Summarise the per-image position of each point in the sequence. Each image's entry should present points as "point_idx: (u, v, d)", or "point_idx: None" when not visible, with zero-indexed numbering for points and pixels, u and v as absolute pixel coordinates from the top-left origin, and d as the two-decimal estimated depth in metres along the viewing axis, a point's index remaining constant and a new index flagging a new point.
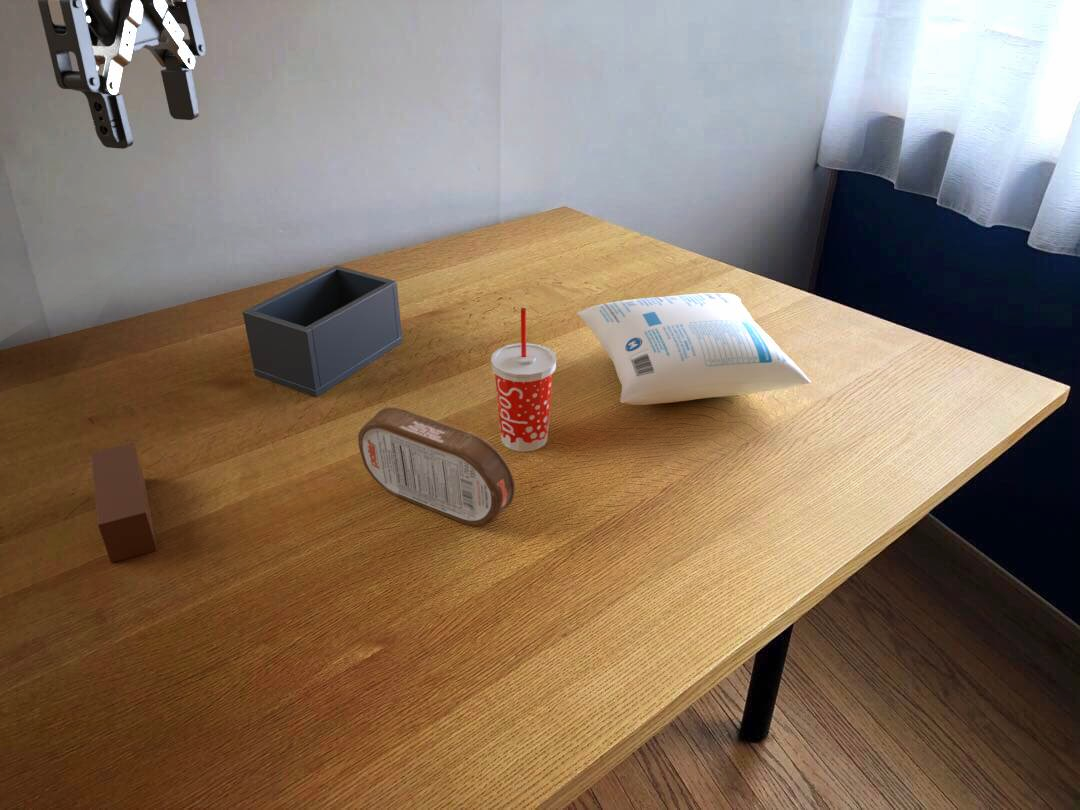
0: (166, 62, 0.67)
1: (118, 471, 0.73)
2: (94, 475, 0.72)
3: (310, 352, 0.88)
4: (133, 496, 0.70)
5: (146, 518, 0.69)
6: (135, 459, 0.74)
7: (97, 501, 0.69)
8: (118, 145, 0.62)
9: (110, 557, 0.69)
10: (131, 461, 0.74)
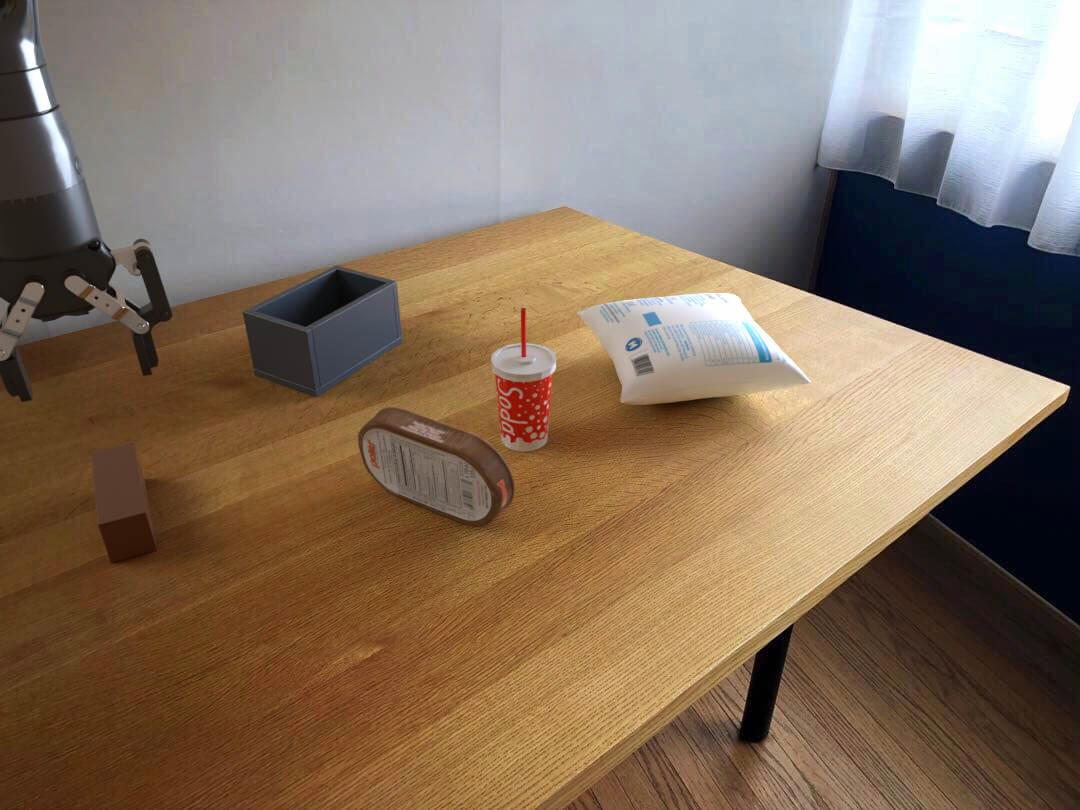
0: None
1: (118, 471, 0.73)
2: (94, 475, 0.72)
3: (310, 352, 0.88)
4: (133, 496, 0.70)
5: (146, 518, 0.69)
6: (135, 459, 0.74)
7: (97, 501, 0.69)
8: None
9: (110, 557, 0.69)
10: (131, 461, 0.74)
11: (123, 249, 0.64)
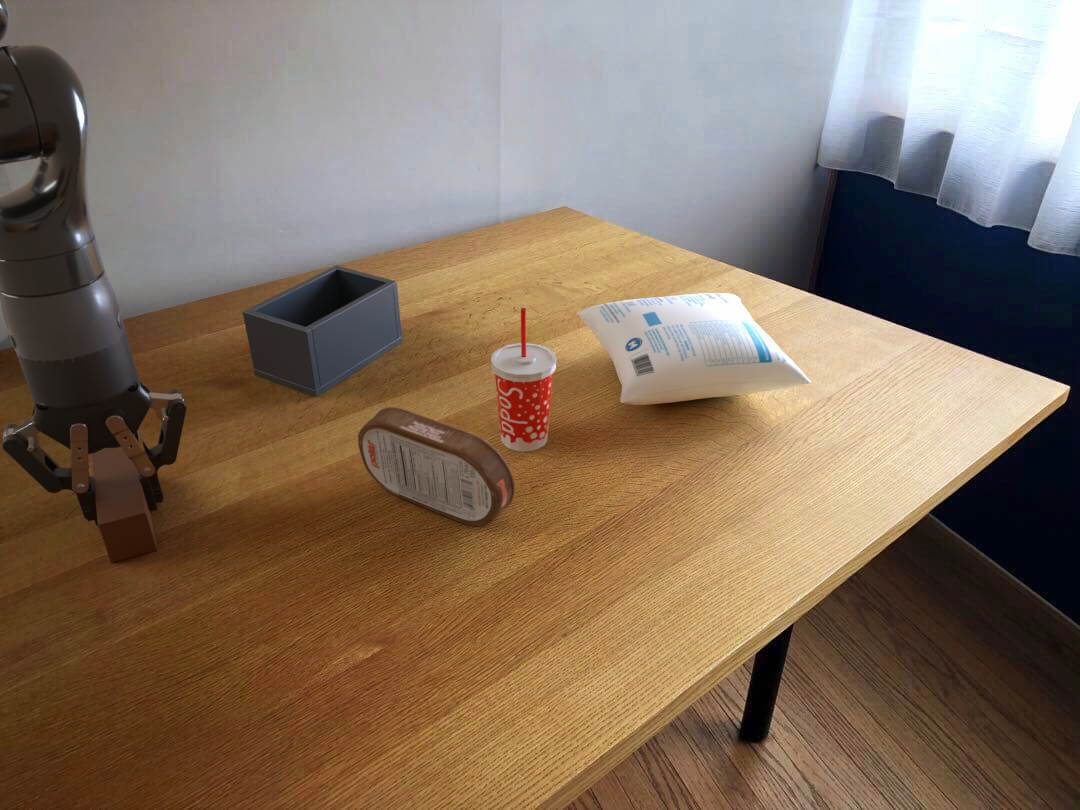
0: None
1: (118, 471, 0.73)
2: (94, 475, 0.72)
3: (310, 352, 0.88)
4: (133, 496, 0.70)
5: (146, 518, 0.69)
6: None
7: (97, 501, 0.69)
8: None
9: (110, 557, 0.69)
10: (131, 461, 0.74)
11: (161, 395, 0.70)
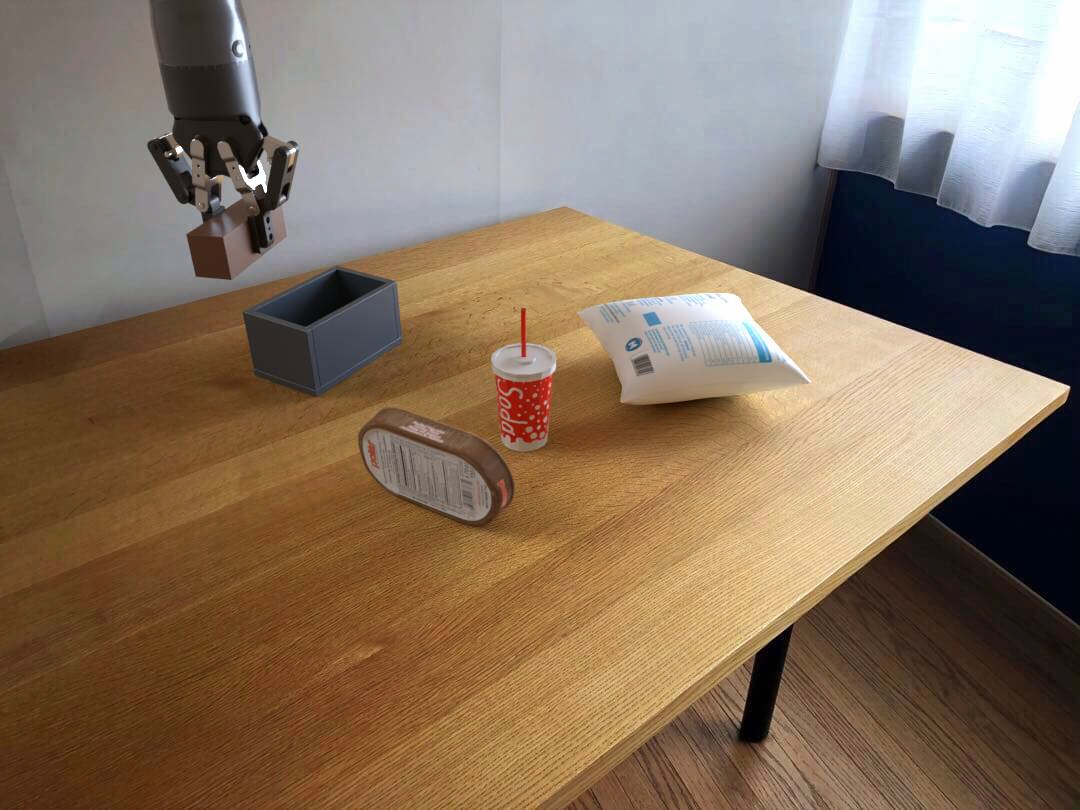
0: None
1: (245, 209, 0.80)
2: (228, 207, 0.80)
3: (310, 352, 0.88)
4: (230, 226, 0.76)
5: (223, 243, 0.74)
6: None
7: (206, 221, 0.77)
8: None
9: (195, 271, 0.76)
10: None
11: (274, 140, 0.74)
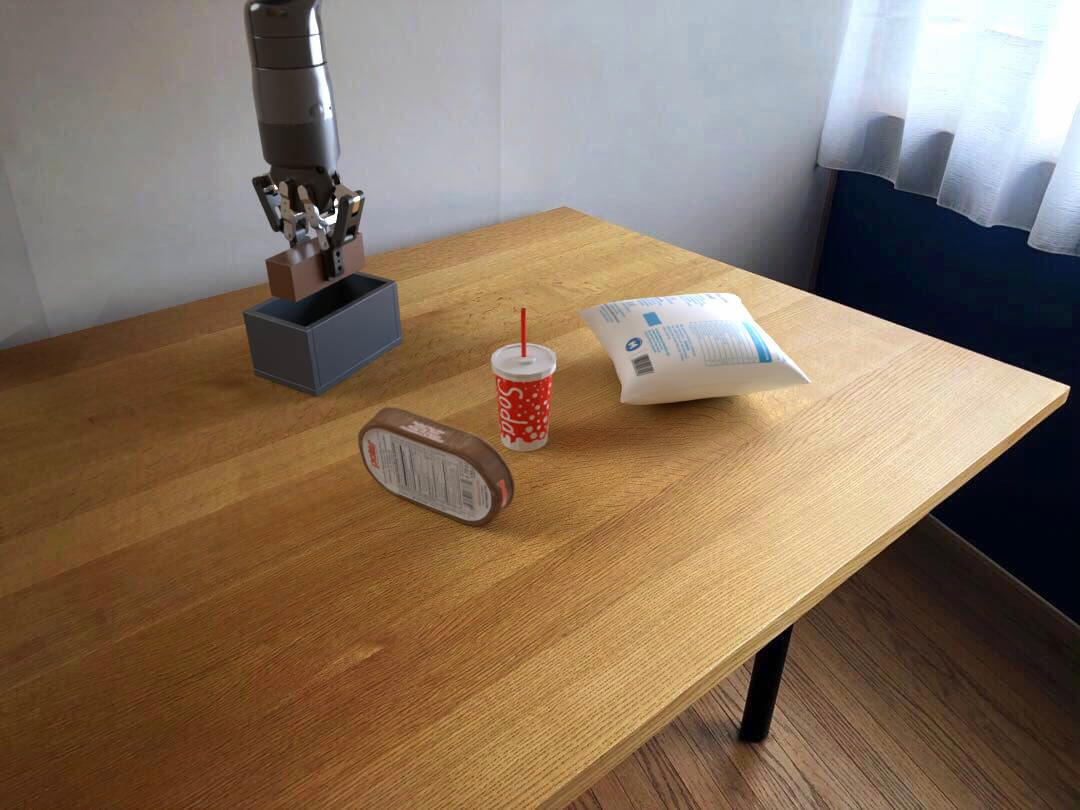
0: None
1: None
2: (314, 238, 0.93)
3: (310, 352, 0.88)
4: (303, 256, 0.89)
5: (290, 272, 0.87)
6: None
7: (288, 249, 0.90)
8: None
9: (271, 290, 0.90)
10: None
11: (344, 188, 0.85)
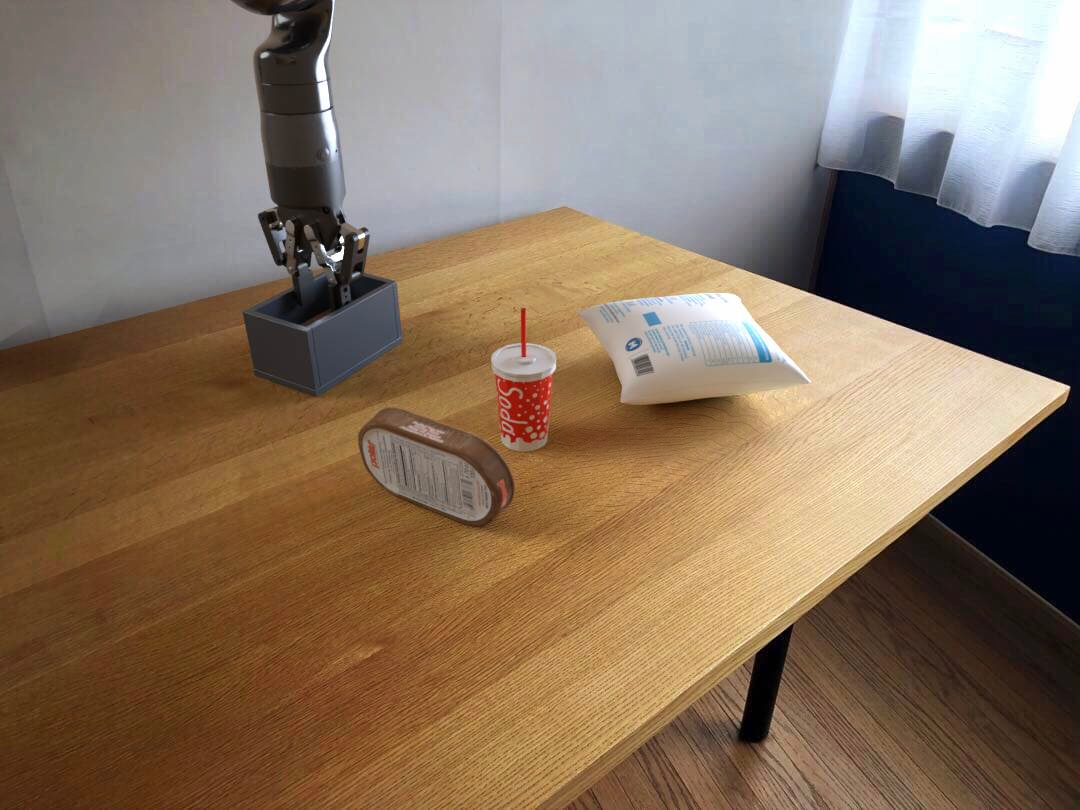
0: None
1: None
2: None
3: (310, 352, 0.88)
4: None
5: None
6: None
7: None
8: None
9: None
10: None
11: (349, 226, 0.87)
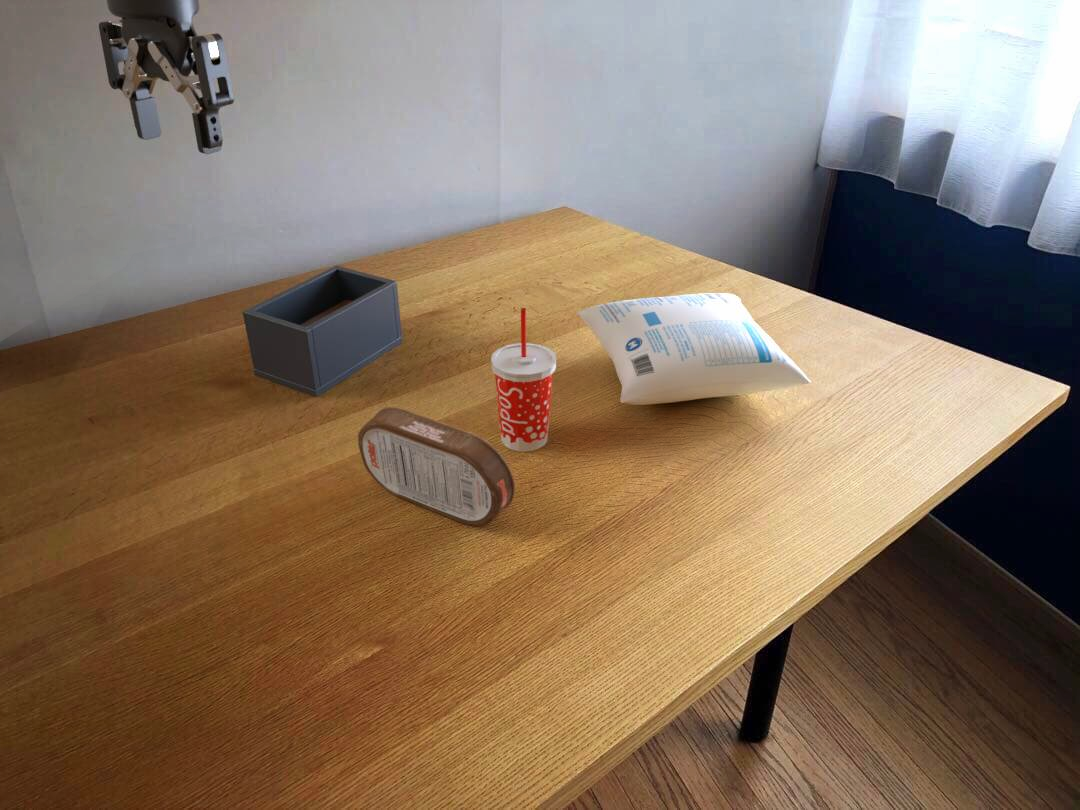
0: None
1: None
2: None
3: (310, 352, 0.88)
4: None
5: None
6: None
7: None
8: None
9: None
10: None
11: (197, 36, 0.75)
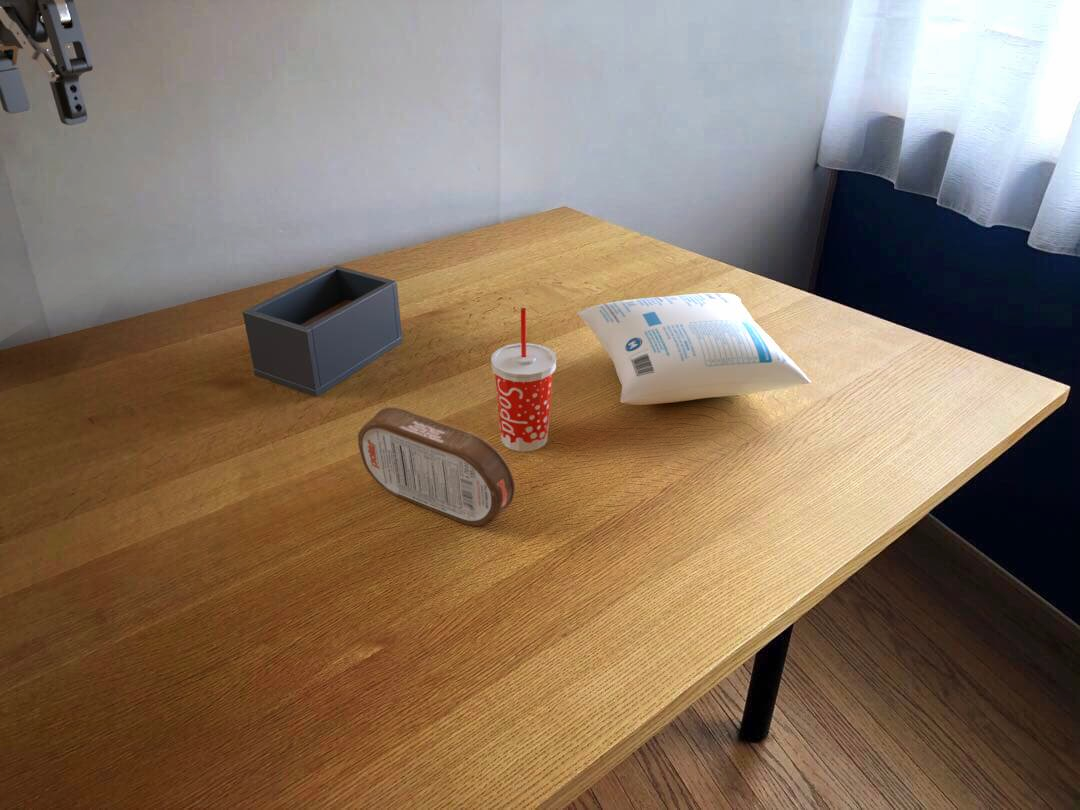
0: None
1: None
2: None
3: (310, 352, 0.88)
4: None
5: None
6: None
7: None
8: None
9: None
10: None
11: None
